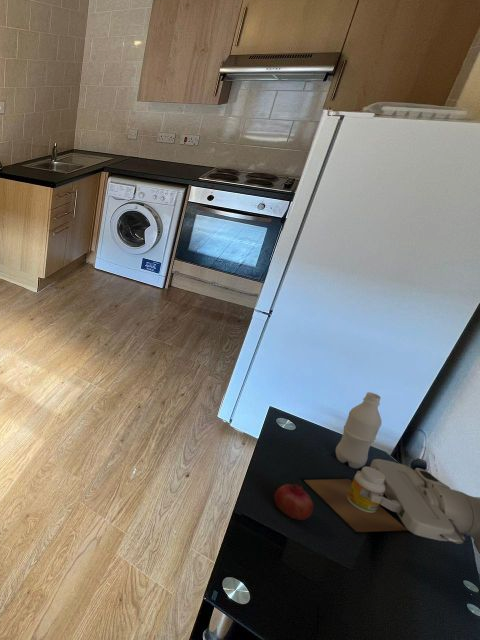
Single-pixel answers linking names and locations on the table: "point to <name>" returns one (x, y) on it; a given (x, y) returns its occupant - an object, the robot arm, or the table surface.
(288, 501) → the fruit
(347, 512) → the cork mat
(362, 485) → the supplement bottle
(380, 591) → the table surface
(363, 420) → the water bottle
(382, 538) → the table surface
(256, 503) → the table surface
